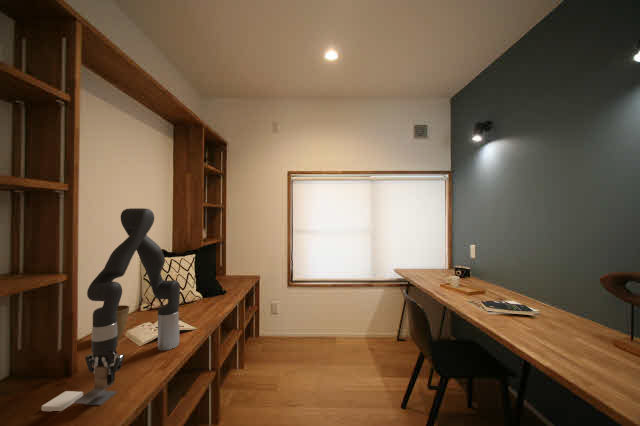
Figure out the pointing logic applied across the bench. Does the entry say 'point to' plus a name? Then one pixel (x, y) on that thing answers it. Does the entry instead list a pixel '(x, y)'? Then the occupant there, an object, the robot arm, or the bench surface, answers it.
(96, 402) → the mat
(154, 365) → the bench surface
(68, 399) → the slab tile
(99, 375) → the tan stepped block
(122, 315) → the plant pot
